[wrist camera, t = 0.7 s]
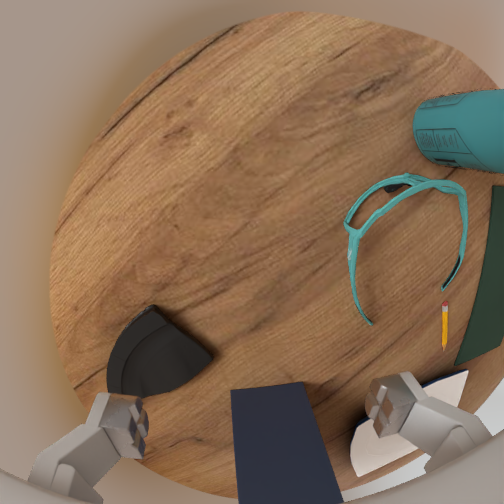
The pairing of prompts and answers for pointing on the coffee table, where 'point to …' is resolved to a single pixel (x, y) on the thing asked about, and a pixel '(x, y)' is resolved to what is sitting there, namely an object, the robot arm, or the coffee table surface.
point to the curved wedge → (154, 356)
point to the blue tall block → (280, 448)
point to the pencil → (444, 324)
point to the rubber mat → (488, 290)
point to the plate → (395, 446)
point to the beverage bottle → (463, 130)
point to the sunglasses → (391, 186)
